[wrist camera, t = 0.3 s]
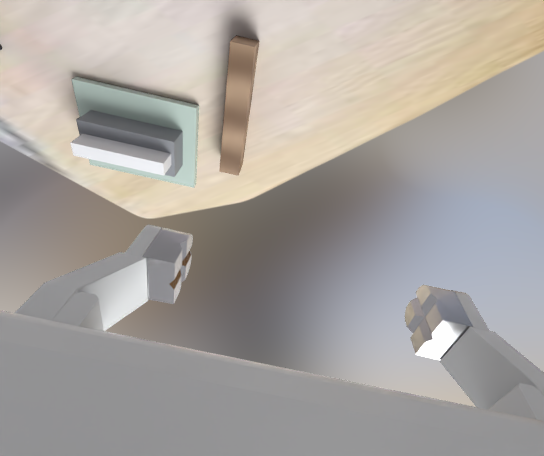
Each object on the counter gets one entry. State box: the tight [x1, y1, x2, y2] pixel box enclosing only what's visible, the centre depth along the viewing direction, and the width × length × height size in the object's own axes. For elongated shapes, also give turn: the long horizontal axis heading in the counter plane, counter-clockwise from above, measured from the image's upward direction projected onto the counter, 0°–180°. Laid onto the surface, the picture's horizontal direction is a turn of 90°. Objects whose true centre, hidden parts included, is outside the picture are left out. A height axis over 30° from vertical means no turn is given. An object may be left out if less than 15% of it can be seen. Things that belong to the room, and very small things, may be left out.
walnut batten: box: [220, 36, 259, 175], centre depth 45 cm, size 18×3×4 cm, turn 170°
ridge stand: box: [71, 77, 199, 187], centre depth 48 cm, size 14×18×8 cm
